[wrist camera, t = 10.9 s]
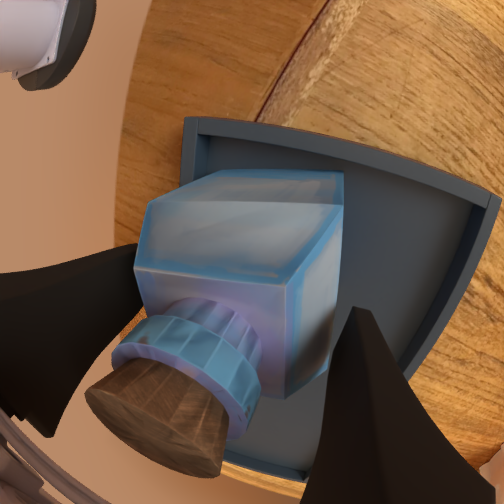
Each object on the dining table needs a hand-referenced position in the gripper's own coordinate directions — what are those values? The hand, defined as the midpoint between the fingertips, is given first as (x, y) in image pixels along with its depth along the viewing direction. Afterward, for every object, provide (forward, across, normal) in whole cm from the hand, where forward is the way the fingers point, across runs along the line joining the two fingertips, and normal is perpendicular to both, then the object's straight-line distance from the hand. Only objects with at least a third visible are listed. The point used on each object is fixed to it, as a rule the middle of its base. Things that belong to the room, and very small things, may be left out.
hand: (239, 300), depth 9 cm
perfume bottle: (+7, 0, 0) cm, 7 cm away
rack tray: (+7, -3, +12) cm, 15 cm away
